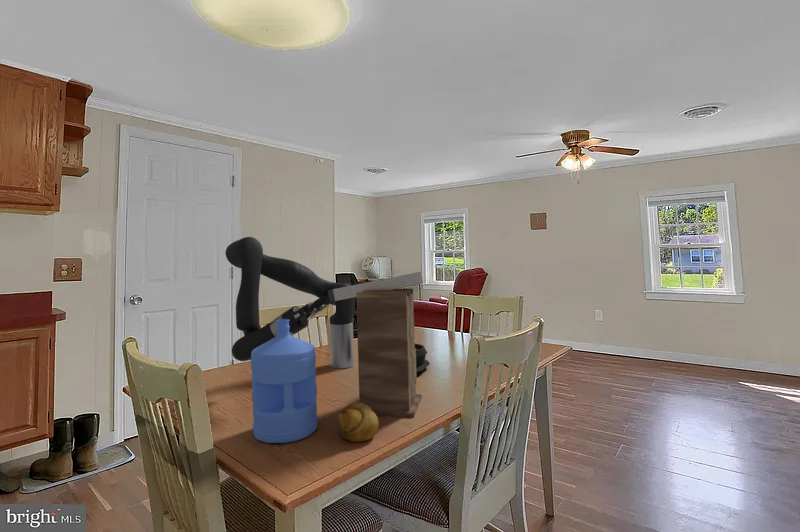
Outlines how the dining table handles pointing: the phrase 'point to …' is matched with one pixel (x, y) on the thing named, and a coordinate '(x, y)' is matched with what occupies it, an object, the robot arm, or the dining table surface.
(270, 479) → the dining table surface
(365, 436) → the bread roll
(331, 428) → the dining table surface
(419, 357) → the casserole
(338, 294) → the steel bar
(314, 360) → the water jug
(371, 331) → the stand
